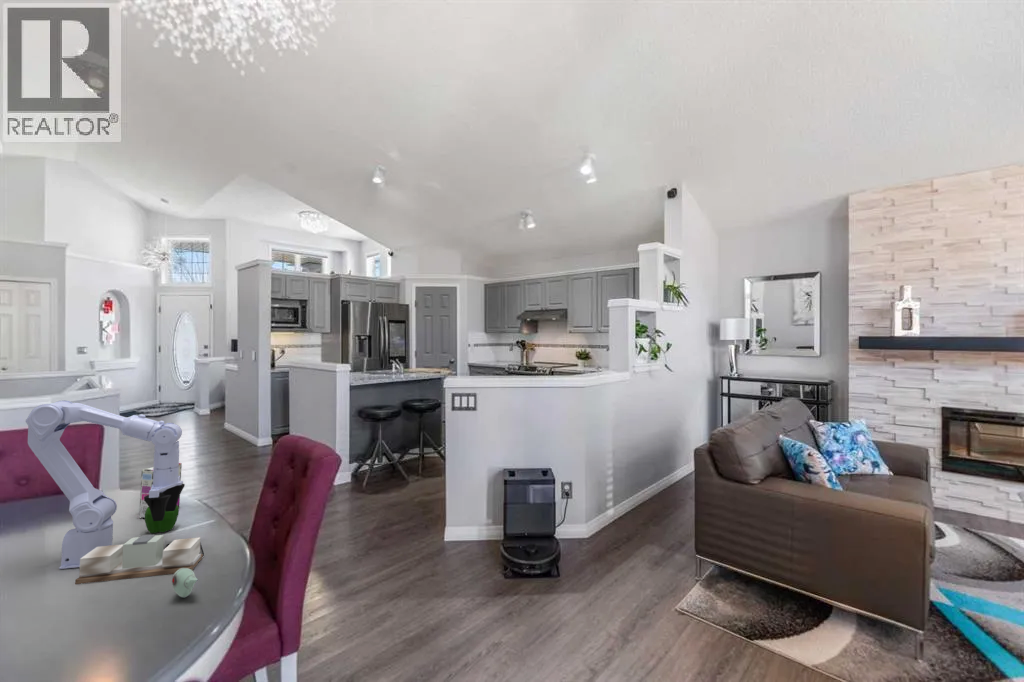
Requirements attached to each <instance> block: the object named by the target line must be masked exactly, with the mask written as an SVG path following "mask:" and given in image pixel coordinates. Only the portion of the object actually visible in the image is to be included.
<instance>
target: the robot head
mask: <svg viewBox="0 0 1024 682" xmlns="http://www.w3.org/2000/svg"><path fill="white" fill-rule="evenodd" d="M172 575H173V576H172V579H171V583H172V584H171V585H172V589H173V591H174V593H176V595H177V596H179V597H180V598H187V597H188V596H190V595H191V593H192V590H193V589H194V585H195V584H196V583H197V582H198V580H199V579H198V578H197V577H196V573H195V572H194V571H193V570H191V569H188V568H181V569H179V570H177V571H176V572H175V574H172Z"/></svg>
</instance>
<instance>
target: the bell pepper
mask: <svg viewBox="0 0 1024 682" xmlns="http://www.w3.org/2000/svg"><path fill="white" fill-rule="evenodd" d="M179 511H180V506H179V507H178V505H177V506H176V509H175V511H168V512H166V510H165V515H164V519H163V520H162V521H153V519H152V515H151V511H150V509H149V507H148V508H147V509H146V512H145V519H144V522H145V527H146V529H147V531H148V532H149V533H150V534H155V533H156V534H157V533H166V532H169V531H168V530H170V529H171V530H173V529H174V527H175V526H176V523H177V520H178V517H179V514H180V513H179ZM172 528H173V529H172ZM171 530H170V531H171ZM165 531H166V532H165Z"/></svg>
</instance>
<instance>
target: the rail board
mask: <svg viewBox="0 0 1024 682" xmlns="http://www.w3.org/2000/svg"><path fill="white" fill-rule="evenodd" d="M200 542H201V537H189V538H181V539H179V538H178V539H174V540H172V542H170V543H171V544H170V545H169V546H167V547H165V548H163V558H162V559H161V560H160V561H159V562H158V563H157V564H156V565H154V566H145V567H135V568H126V569H122V561H123V544H124V543H121V544H112V545H110V546H99V547H96V548H95V549H93V550H92V551H90V552H89V553H88V554H86V555H85V556H83V557H82V558H80V567H79V577H78V578H76V579H75V582H74V584H75V585H80V584H81V583H82V584H90V583H100V582H107V581H109V582H110V581H118V580H126V579H136V578H144V577H153V576H154V577H155V576H164V575H174V574H175V572H176V571H177V570H179V569H181V568H188V569H191V570H192V571H193V570H194V569H195V568H194V567H197V566H198V564H199V563H200V562H201V560H202V559H203V558H204V557H203V554H199V553H200ZM202 557H203V558H202ZM201 558H202V559H201ZM199 561H200V562H199ZM198 562H199V563H198ZM82 584H81V585H82Z"/></svg>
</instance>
